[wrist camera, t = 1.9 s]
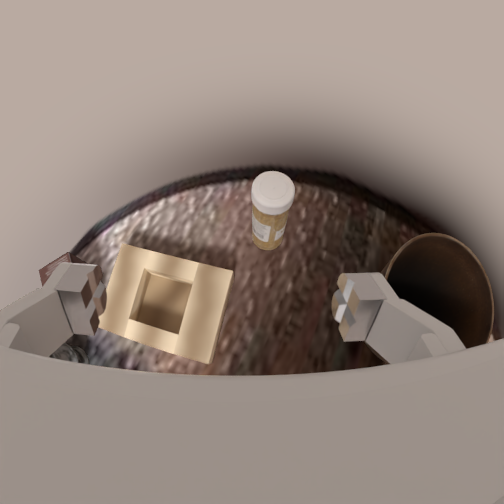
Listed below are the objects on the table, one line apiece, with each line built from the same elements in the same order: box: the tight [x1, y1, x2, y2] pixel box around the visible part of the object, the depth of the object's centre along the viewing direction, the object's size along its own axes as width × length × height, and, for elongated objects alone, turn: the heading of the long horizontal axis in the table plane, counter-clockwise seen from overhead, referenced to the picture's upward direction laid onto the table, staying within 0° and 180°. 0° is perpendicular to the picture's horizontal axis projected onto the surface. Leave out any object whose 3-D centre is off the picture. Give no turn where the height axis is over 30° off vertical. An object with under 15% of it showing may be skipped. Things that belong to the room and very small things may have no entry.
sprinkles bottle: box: [251, 171, 295, 250], centre depth 37 cm, size 5×5×13 cm
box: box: [39, 252, 87, 287], centre depth 37 cm, size 6×6×7 cm
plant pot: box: [364, 233, 494, 364], centre depth 31 cm, size 15×15×16 cm
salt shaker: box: [49, 343, 89, 364], centre depth 31 cm, size 6×6×12 cm
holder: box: [98, 243, 234, 364], centre depth 38 cm, size 16×12×4 cm
